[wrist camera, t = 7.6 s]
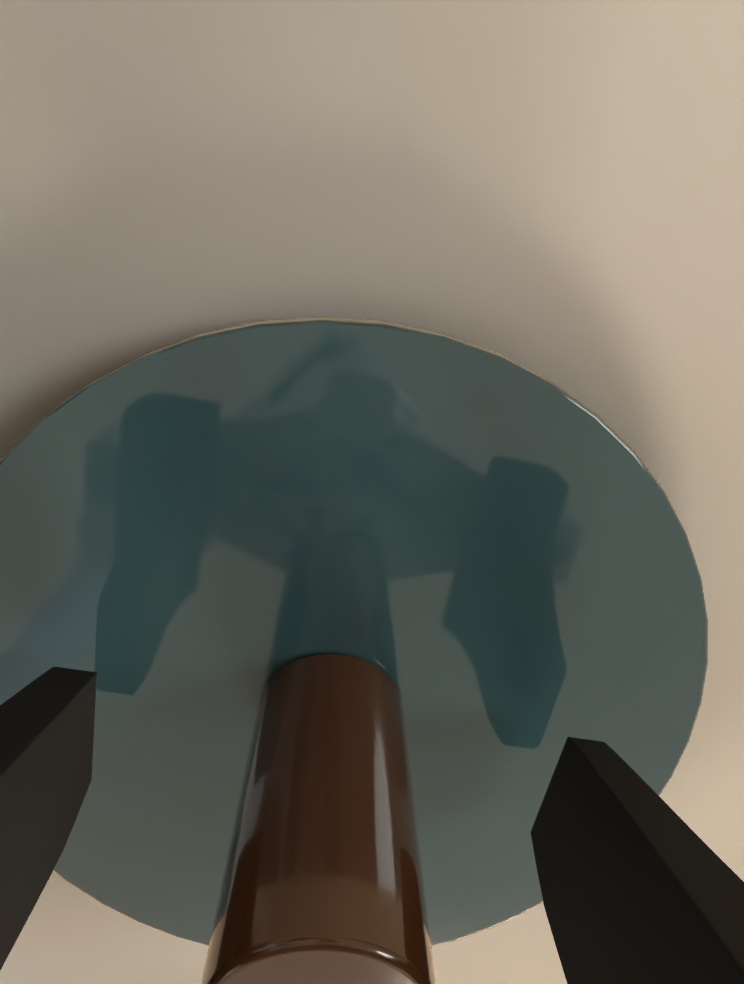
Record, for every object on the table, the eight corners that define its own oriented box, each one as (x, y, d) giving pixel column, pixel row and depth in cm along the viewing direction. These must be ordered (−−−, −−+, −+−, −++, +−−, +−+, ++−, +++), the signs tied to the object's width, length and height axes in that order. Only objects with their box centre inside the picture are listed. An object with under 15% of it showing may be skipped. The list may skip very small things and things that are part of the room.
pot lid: (340, 984, 14) (334, 1395, 9) (-167, 679, 11) (-633, 1060, 6) (808, 660, 12) (1184, 994, 6) (319, 105, 8) (264, -164, 3)
